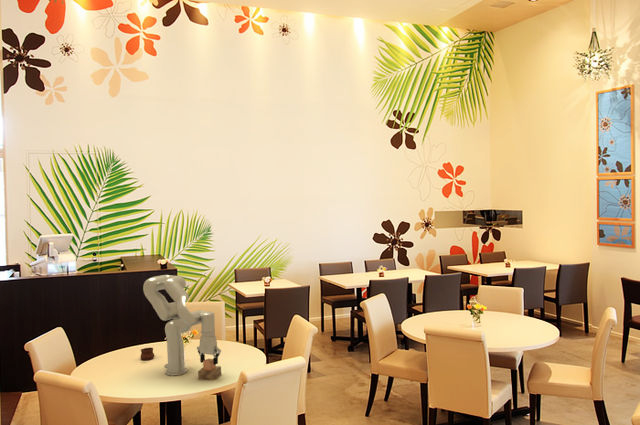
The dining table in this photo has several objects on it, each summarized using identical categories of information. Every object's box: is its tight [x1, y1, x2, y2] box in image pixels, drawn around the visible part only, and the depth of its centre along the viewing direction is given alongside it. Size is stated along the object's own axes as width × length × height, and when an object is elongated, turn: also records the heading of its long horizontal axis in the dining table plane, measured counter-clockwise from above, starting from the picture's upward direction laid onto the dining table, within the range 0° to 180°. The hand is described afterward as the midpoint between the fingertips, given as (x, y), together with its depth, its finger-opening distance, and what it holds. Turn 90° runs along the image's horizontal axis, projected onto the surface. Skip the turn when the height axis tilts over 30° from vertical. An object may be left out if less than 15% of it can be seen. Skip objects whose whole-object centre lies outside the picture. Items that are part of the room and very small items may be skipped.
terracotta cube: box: [202, 358, 217, 370], centre depth 302 cm, size 5×5×5 cm
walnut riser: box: [197, 365, 222, 381], centre depth 302 cm, size 10×10×5 cm
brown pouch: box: [140, 347, 155, 364], centre depth 342 cm, size 18×18×7 cm
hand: (209, 363), depth 302 cm, fingers open, 9 cm apart
